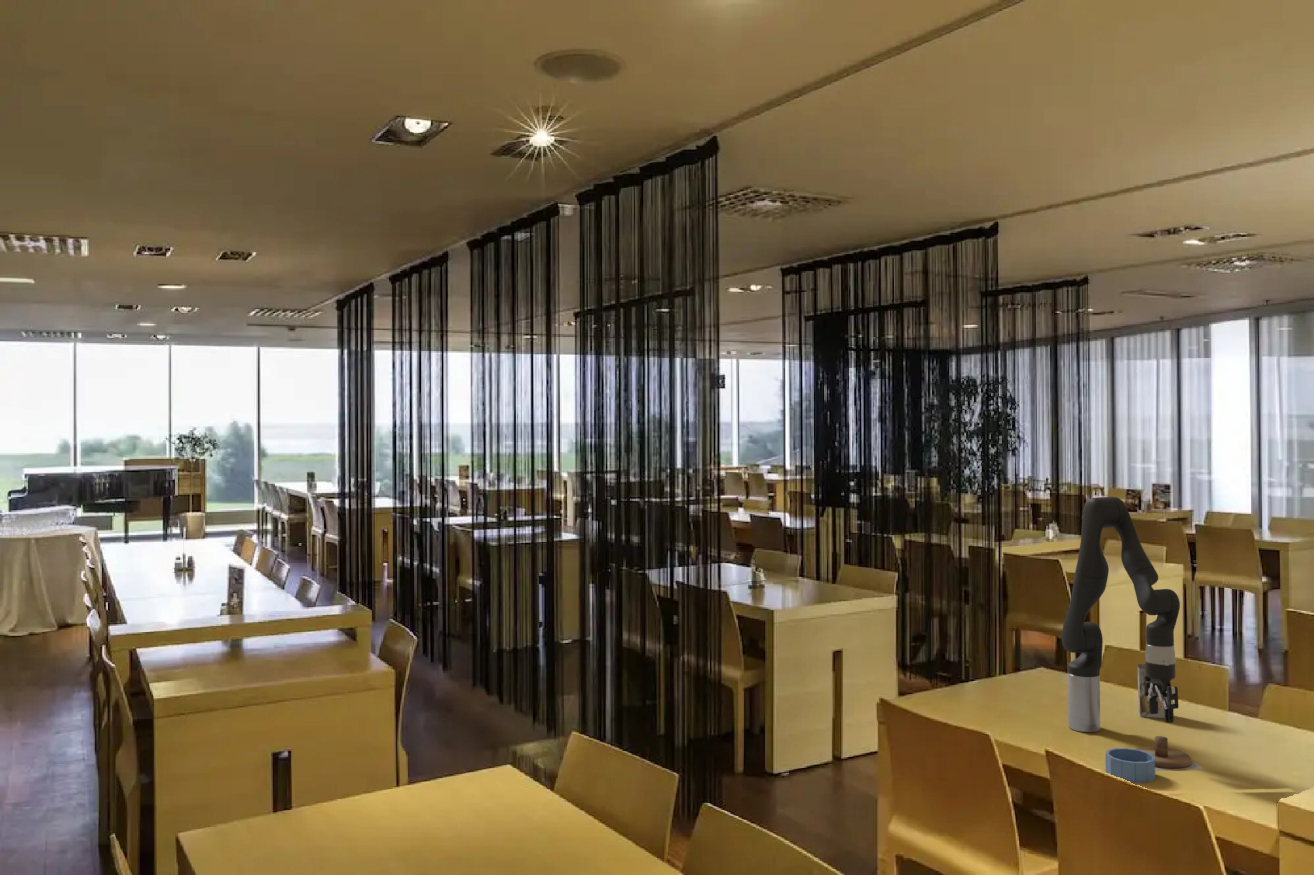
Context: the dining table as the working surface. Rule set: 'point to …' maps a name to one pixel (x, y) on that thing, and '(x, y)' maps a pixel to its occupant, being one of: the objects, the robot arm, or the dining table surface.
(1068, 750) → the dining table surface
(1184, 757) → the lid
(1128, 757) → the bowl
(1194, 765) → the mat
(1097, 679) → the robot arm
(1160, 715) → the coffee box
